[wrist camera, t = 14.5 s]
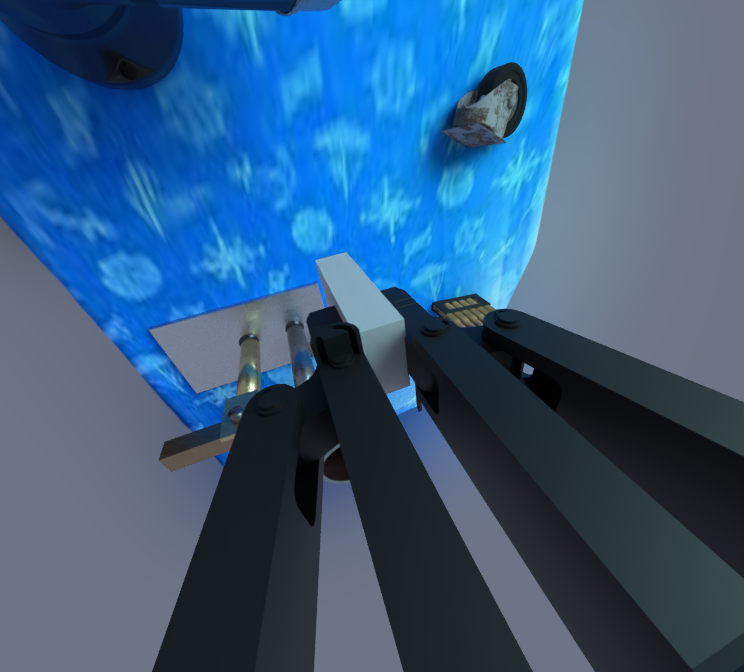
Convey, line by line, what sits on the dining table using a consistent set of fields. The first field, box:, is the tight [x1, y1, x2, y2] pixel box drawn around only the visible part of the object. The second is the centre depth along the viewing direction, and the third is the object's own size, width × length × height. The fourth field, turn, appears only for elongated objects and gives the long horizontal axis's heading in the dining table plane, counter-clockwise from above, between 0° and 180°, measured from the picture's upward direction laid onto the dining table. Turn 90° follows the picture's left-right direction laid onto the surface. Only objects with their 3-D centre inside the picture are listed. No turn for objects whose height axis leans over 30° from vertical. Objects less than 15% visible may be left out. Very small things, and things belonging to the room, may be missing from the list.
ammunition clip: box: [432, 294, 496, 327], centre depth 55 cm, size 11×2×12 cm, turn 93°
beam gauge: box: [149, 282, 324, 472], centre depth 40 cm, size 26×14×22 cm, turn 99°
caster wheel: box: [441, 62, 527, 148], centre depth 39 cm, size 7×11×10 cm
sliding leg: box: [220, 339, 261, 442], centre depth 39 cm, size 4×6×21 cm
